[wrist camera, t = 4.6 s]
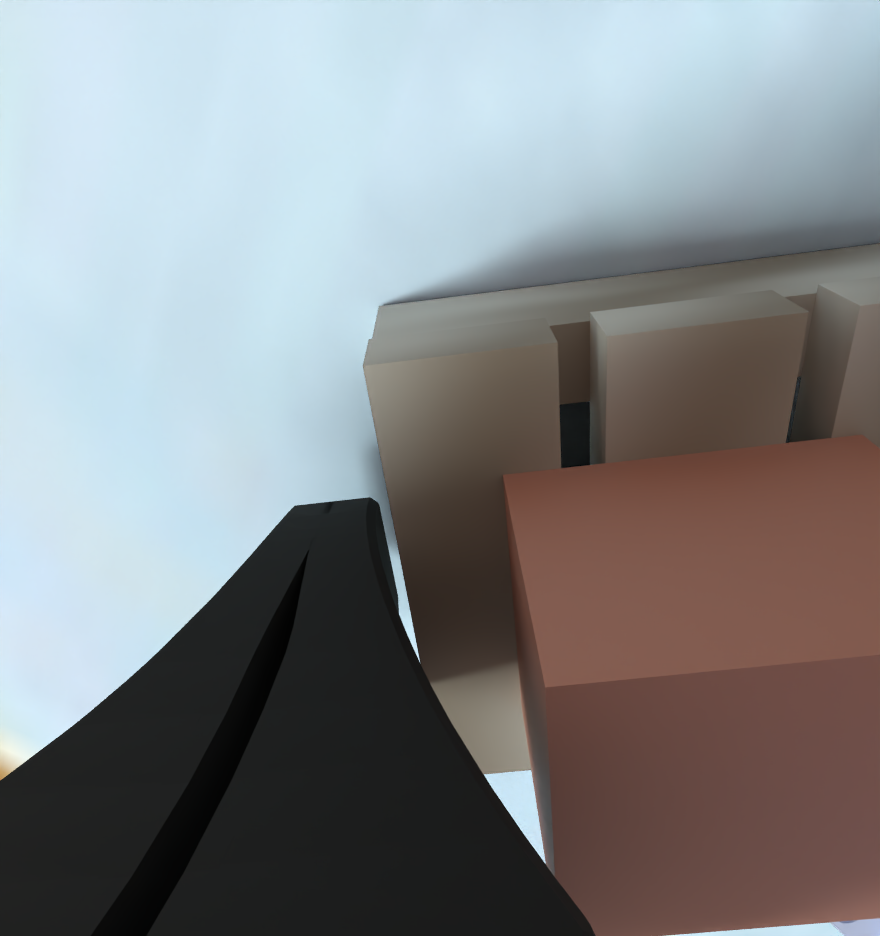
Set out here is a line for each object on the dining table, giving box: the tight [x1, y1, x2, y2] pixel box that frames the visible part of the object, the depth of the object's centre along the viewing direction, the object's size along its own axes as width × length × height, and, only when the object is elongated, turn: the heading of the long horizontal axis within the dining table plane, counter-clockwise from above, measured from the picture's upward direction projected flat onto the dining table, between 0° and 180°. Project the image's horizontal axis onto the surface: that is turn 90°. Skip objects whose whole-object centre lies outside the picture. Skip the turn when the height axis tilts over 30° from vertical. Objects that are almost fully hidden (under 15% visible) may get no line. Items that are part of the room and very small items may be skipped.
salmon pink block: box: [503, 435, 880, 936], centre depth 7 cm, size 4×4×3 cm
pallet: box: [363, 243, 880, 774], centre depth 9 cm, size 7×7×2 cm
